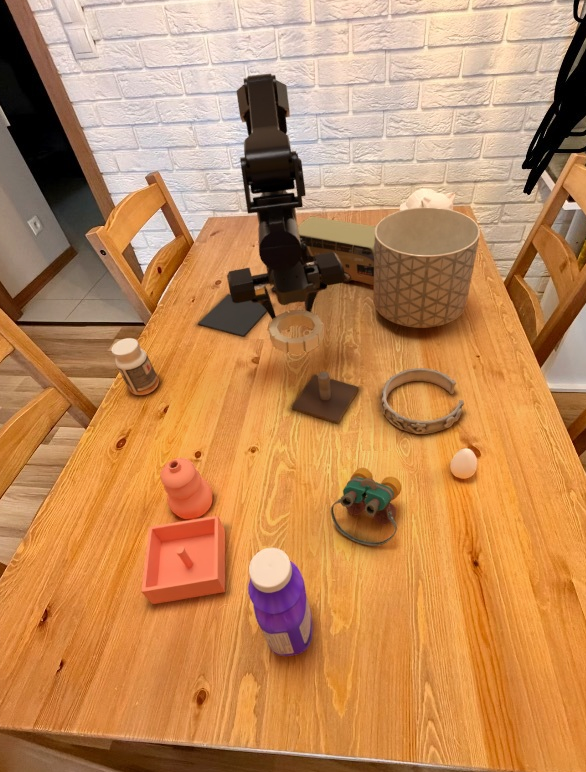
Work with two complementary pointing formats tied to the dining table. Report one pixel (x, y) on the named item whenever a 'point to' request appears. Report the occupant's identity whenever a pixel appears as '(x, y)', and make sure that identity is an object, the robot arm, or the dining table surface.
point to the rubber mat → (234, 316)
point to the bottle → (280, 602)
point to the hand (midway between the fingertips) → (291, 318)
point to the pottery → (185, 541)
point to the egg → (464, 463)
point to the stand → (325, 398)
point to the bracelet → (415, 425)
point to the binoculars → (369, 500)
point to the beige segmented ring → (298, 343)
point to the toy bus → (342, 245)
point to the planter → (424, 265)
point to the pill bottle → (135, 366)
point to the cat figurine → (429, 200)
